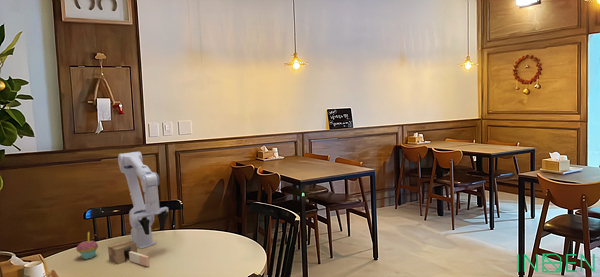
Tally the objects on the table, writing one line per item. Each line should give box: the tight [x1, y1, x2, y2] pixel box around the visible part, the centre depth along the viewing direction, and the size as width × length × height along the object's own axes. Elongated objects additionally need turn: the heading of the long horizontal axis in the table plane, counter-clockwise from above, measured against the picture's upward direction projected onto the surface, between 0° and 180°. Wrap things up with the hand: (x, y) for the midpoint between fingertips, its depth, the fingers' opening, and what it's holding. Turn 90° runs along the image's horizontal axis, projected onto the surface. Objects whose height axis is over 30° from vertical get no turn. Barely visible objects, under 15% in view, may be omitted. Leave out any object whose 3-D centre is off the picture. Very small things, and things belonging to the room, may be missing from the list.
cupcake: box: [75, 231, 99, 260], centre depth 193 cm, size 9×8×12 cm
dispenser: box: [107, 239, 138, 265], centre depth 190 cm, size 8×9×6 cm
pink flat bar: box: [128, 251, 151, 267], centre depth 183 cm, size 12×1×4 cm, turn 53°
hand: (154, 231), depth 193 cm, fingers open, 7 cm apart
